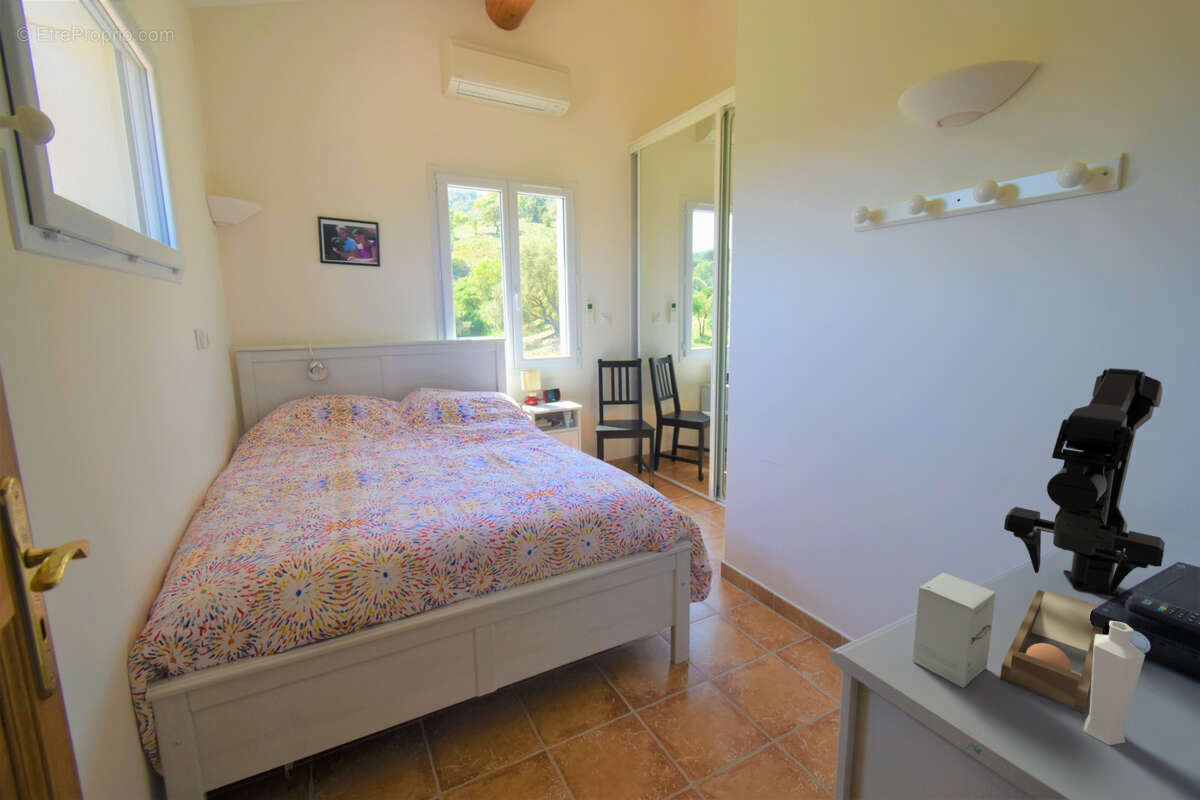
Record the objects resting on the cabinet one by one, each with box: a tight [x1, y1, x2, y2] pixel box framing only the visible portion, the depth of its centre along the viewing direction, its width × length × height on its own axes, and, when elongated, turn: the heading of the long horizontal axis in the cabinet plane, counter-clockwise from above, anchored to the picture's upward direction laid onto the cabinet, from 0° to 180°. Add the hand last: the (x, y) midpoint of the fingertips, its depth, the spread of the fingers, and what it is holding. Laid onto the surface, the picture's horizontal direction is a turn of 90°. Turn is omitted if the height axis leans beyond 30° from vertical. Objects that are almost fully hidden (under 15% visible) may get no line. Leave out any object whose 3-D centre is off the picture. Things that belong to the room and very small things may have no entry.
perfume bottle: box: [1083, 620, 1146, 746], centre depth 65 cm, size 5×4×15 cm
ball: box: [1026, 643, 1071, 671], centre depth 75 cm, size 5×5×5 cm
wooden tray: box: [999, 589, 1104, 714], centre depth 81 cm, size 27×9×5 cm, turn 132°
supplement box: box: [912, 572, 996, 689], centre depth 78 cm, size 7×7×13 cm
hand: (1072, 582), depth 87 cm, fingers open, 9 cm apart
